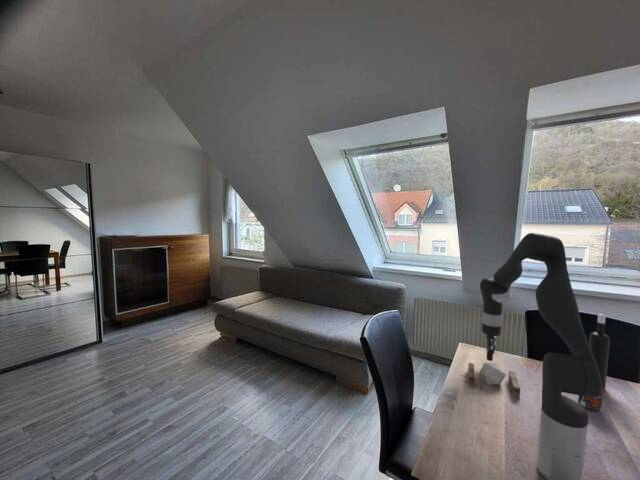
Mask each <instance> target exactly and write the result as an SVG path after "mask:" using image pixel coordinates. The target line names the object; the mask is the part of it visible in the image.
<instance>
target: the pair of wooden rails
mask: <svg viewBox="0 0 640 480" xmlns="http://www.w3.org/2000/svg"><path fill="white" fill-rule="evenodd" d="M475 374H476V373H475V365H474V363H472V362H471V363H470V362H468V367H467V378H468V387H469V388H474V389H475V386H476V385H475V384H476V376H475ZM508 383H509V388H510V391H511V393H512V396H513V398H516V399H520V398H521V386H520V384H519V383H520V382H519V380H518V377H517V375H516V372H515V371H510V370H509V371H508Z"/></svg>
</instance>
